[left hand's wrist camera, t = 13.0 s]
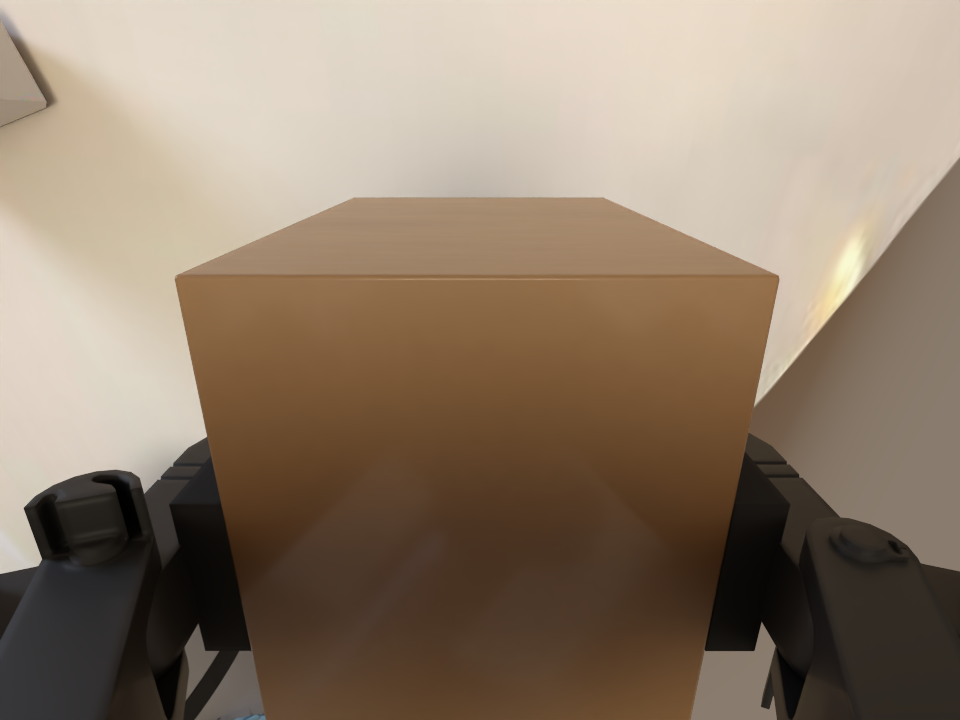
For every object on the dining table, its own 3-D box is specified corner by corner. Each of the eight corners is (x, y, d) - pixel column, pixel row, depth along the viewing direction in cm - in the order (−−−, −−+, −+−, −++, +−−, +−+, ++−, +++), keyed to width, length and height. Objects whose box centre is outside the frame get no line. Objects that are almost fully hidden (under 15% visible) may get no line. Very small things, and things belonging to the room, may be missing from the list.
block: (583, 469, 18) (679, 777, 10) (375, 469, 18) (276, 776, 10) (604, 197, 15) (782, 275, 6) (352, 197, 15) (171, 275, 6)
